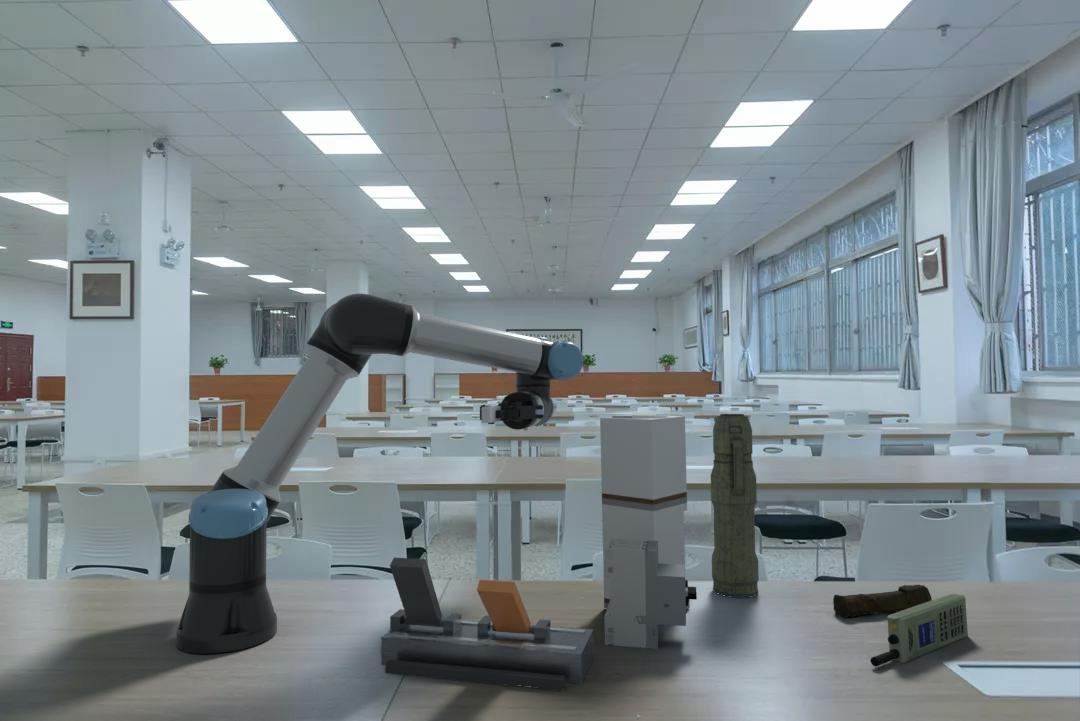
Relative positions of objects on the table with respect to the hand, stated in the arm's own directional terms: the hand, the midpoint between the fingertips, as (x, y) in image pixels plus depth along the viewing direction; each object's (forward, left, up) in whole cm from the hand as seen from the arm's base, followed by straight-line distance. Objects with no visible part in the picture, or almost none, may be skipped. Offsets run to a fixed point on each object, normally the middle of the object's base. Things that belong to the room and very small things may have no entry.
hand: (485, 415), depth 121 cm
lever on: (-5, -14, -31) cm, 35 cm away
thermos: (+42, +30, -36) cm, 63 cm away
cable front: (+5, -21, -36) cm, 42 cm away
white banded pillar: (+26, +15, -36) cm, 47 cm away
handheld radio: (+68, +4, -37) cm, 78 cm away
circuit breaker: (+28, 0, -36) cm, 46 cm away
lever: (+9, -14, -31) cm, 35 cm away
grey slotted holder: (+5, -14, -36) cm, 39 cm away
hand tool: (+67, +22, -36) cm, 80 cm away
